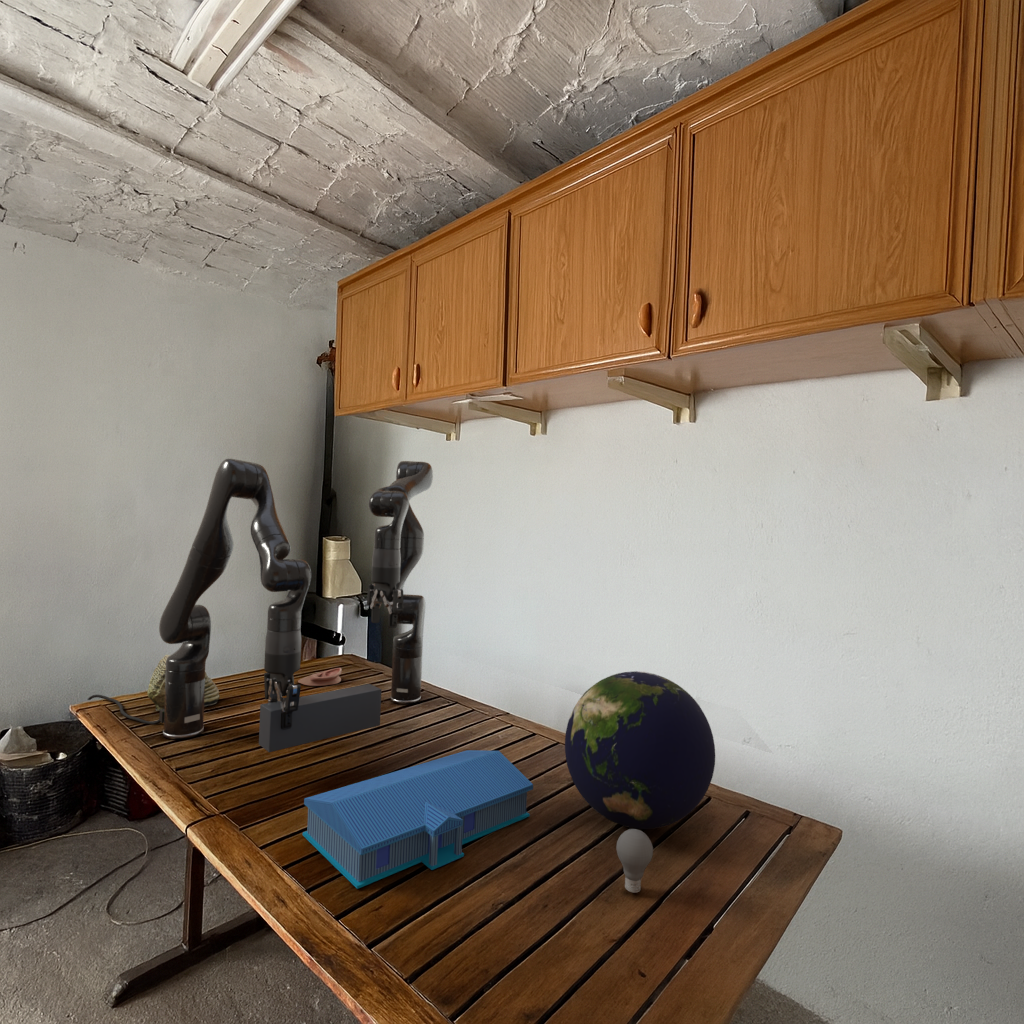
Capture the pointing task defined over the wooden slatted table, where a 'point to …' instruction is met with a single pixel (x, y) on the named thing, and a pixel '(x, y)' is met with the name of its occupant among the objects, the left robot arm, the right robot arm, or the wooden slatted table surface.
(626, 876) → the light bulb
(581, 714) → the globe
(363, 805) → the model building
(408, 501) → the right robot arm
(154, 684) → the fossil
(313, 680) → the anatomical model
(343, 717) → the bar
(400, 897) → the wooden slatted table surface
